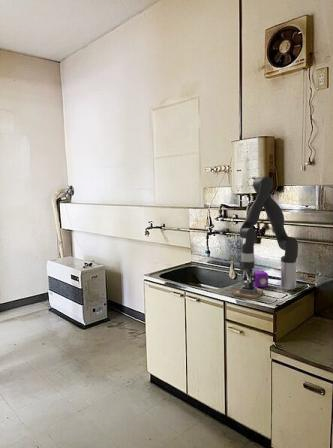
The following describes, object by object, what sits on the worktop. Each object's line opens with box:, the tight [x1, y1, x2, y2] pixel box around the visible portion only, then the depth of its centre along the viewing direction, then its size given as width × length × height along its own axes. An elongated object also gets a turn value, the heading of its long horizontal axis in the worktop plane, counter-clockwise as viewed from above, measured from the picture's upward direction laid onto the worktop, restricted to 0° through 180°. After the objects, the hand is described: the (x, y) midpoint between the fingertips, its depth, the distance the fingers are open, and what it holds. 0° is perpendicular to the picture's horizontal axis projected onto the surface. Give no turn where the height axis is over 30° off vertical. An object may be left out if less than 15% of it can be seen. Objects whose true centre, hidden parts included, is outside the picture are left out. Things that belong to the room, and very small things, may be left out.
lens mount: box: [232, 285, 264, 300], centre depth 211 cm, size 14×14×4 cm
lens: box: [243, 279, 253, 290], centre depth 210 cm, size 5×5×7 cm
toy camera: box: [252, 269, 269, 288], centre depth 227 cm, size 11×14×10 cm
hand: (248, 286), depth 211 cm, fingers open, 8 cm apart
